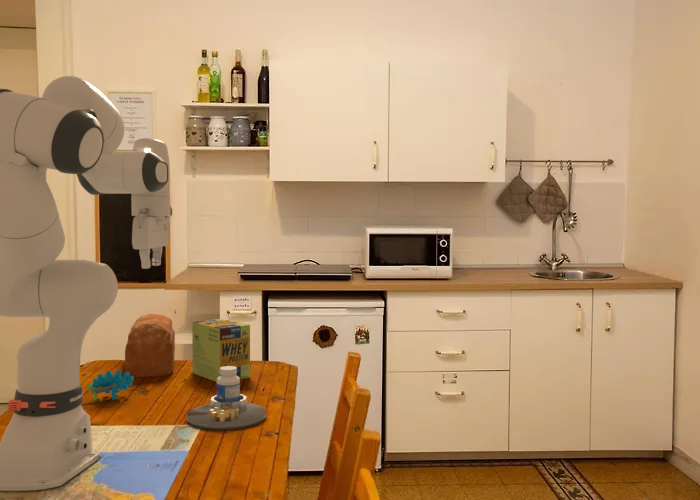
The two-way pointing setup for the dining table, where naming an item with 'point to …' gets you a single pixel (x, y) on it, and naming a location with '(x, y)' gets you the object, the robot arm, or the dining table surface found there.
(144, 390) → the dining table surface
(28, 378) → the robot arm
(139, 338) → the bread
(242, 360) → the protein box
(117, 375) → the gear
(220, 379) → the pill bottle
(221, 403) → the carrier plate
